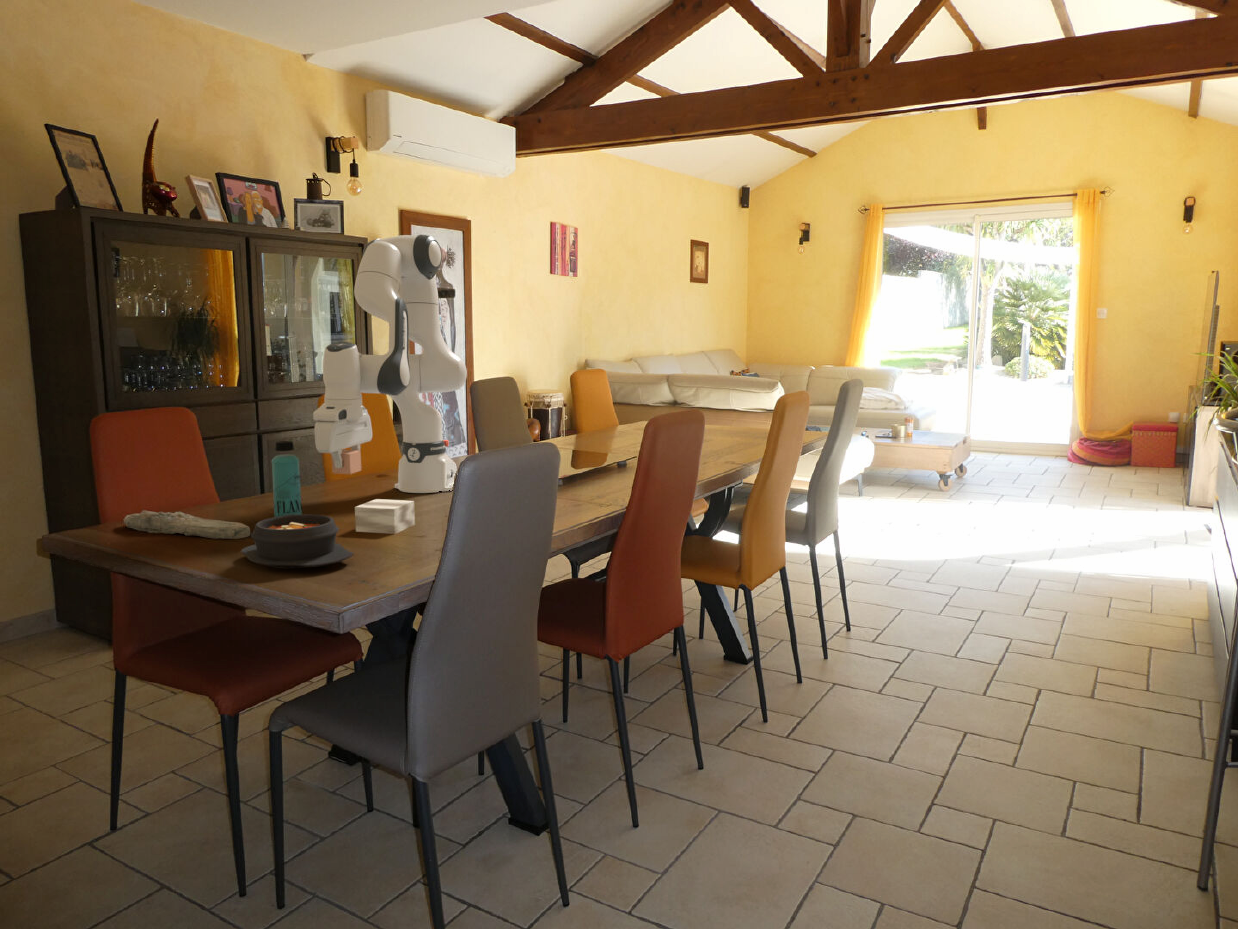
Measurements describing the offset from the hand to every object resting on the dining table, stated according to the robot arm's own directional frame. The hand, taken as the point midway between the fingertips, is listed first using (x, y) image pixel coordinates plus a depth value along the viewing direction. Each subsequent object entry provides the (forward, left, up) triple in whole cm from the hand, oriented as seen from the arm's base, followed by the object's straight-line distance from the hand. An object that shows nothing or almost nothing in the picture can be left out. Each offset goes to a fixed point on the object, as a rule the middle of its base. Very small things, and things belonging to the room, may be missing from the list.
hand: (346, 465), depth 223 cm
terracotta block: (0, 0, -2) cm, 2 cm away
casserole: (+40, +13, -13) cm, 44 cm away
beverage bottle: (+11, -10, -13) cm, 20 cm away
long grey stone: (+24, -28, -14) cm, 39 cm away
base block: (+9, +15, -13) cm, 22 cm away
